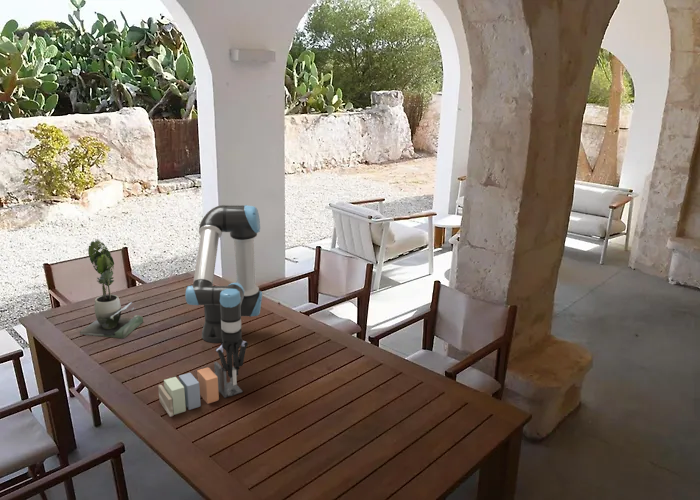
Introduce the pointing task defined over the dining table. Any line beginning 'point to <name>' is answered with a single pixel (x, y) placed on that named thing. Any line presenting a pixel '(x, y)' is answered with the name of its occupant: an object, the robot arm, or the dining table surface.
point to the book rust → (208, 385)
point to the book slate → (190, 390)
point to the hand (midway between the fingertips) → (233, 383)
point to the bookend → (225, 382)
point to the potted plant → (108, 300)
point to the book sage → (176, 394)
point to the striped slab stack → (165, 400)
